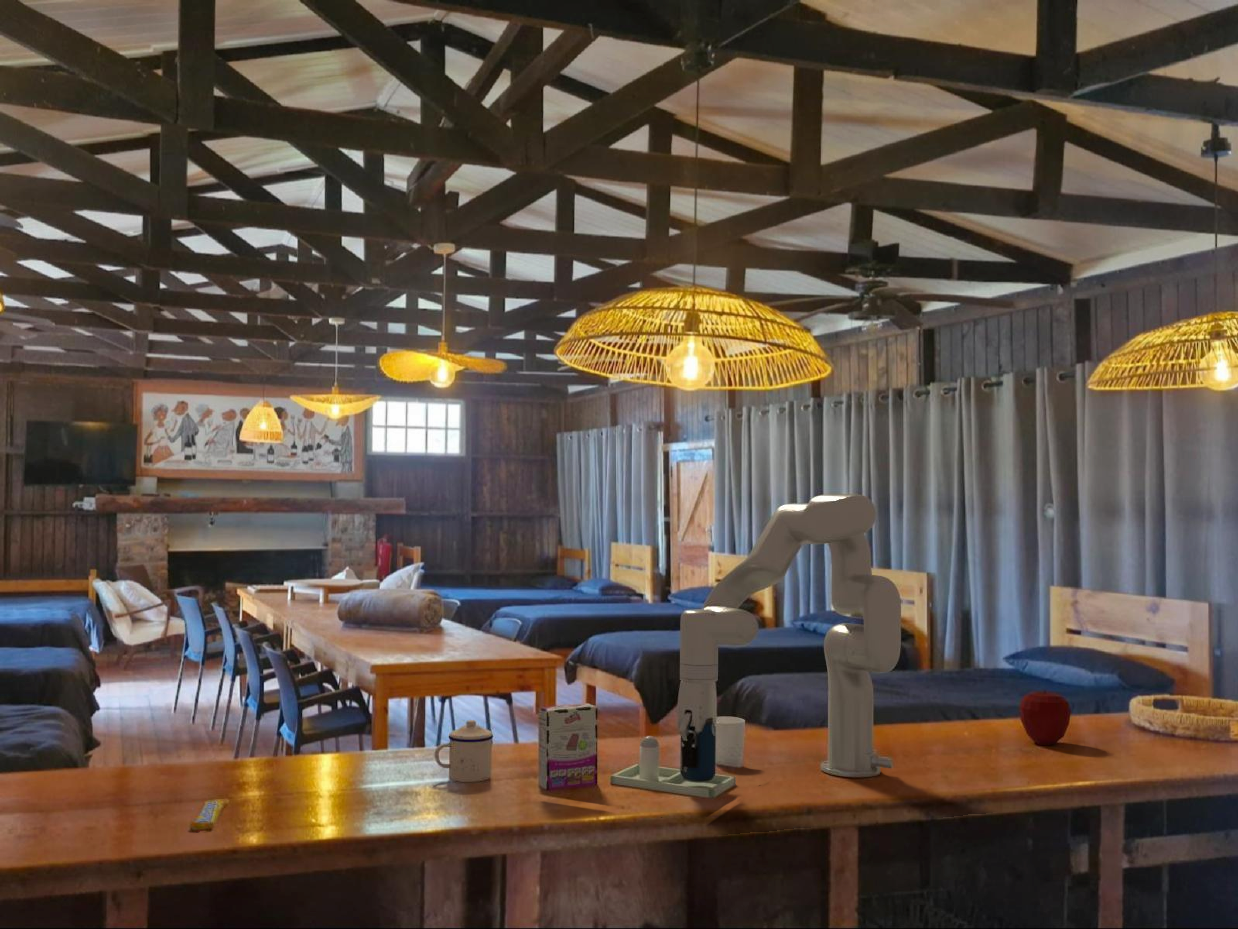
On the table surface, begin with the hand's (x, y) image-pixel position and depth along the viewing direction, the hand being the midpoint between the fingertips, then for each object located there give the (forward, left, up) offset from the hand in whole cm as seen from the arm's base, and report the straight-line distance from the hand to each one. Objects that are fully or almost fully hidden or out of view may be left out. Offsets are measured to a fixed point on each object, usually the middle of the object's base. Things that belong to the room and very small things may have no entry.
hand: (698, 762), depth 212 cm
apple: (-56, -86, -6) cm, 103 cm away
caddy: (+5, 0, -6) cm, 8 cm away
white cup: (+3, -24, -6) cm, 25 cm away
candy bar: (+69, +60, -7) cm, 91 cm away
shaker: (+11, 0, -5) cm, 12 cm away
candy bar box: (+23, +11, -6) cm, 27 cm away
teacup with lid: (+46, +14, -6) cm, 49 cm away
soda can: (0, 0, -3) cm, 3 cm away
